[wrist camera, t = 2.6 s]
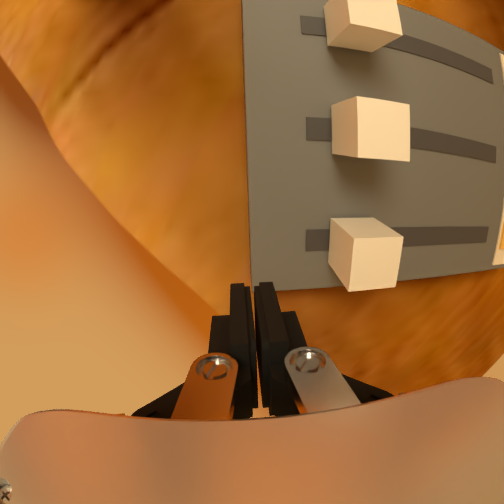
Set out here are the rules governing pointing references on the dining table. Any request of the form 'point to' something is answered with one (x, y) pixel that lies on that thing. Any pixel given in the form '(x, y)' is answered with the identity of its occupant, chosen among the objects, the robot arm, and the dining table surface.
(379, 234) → the knob
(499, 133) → the switch board
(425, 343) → the dining table surface
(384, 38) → the knob
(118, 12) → the dining table surface
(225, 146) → the dining table surface
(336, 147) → the knob
